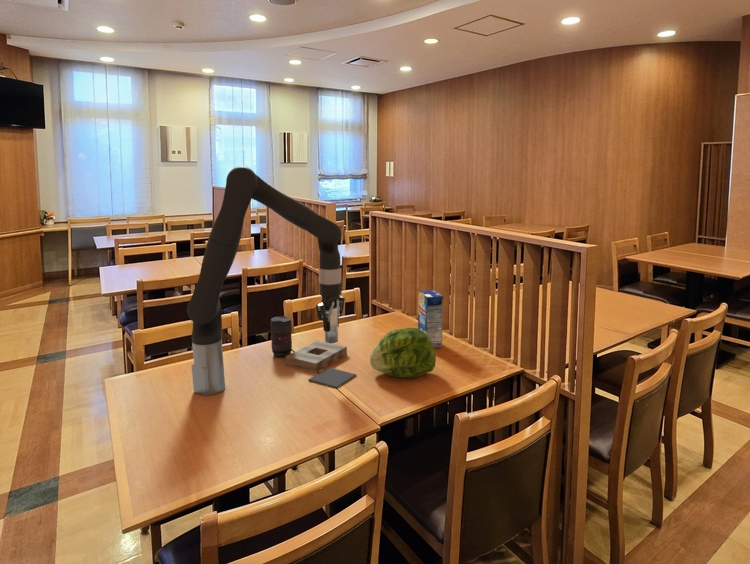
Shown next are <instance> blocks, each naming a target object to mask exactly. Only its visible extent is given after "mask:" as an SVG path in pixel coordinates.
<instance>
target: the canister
mask: <svg viewBox="0 0 750 564" xmlns="http://www.w3.org/2000/svg"><path fill="white" fill-rule="evenodd" d="M325 312H329V311H328V310H325ZM326 318H327V314H326ZM338 329H339V327H338V313H337V307H335V308H333V309H332V315H331V316H330V331H329V332H325V331H324V342H326V343H332V344H336V343H338V342H339V330H338Z"/></svg>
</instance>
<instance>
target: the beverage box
mask: <svg viewBox="0 0 750 564" xmlns="http://www.w3.org/2000/svg"><path fill="white" fill-rule="evenodd" d="M417 303H418V307H417V308H418V309H417V310H418V312H417V329H419V330H422V331H424V332H425V333H426V334H427V335H429V337H430V339H431V341H432V343H433V346H434V348H435V349H442V348H443V322H444V296H443V295H442V294H441V293H439V292H438V291H437V290H435V289H428V290H427V289H426V290H418V302H417Z"/></svg>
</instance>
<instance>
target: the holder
mask: <svg viewBox="0 0 750 564" xmlns="http://www.w3.org/2000/svg"><path fill="white" fill-rule="evenodd" d="M347 348H348V347H347V346H346V345H340V344H336V343H326V342H325V341H323V340H316V341H314V342H313V343H310V344H308V345H307V346H304V347H302V348H300V349H298V350H296V351H294V352H291V354H289V355H287V356H286V357H285V363H286V366H290V367H293V368H296V367H297V369H300V370H304V371H309V372H312V373H318V372H319V370H320V371H322V370H324V369H326V367H327V368H328V366H329V367H330V365H332V364H334V363H335V362H337V361H339V360H341V359H342V358H345V357H346V356H348V349H347ZM321 369H322V370H321Z"/></svg>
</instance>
